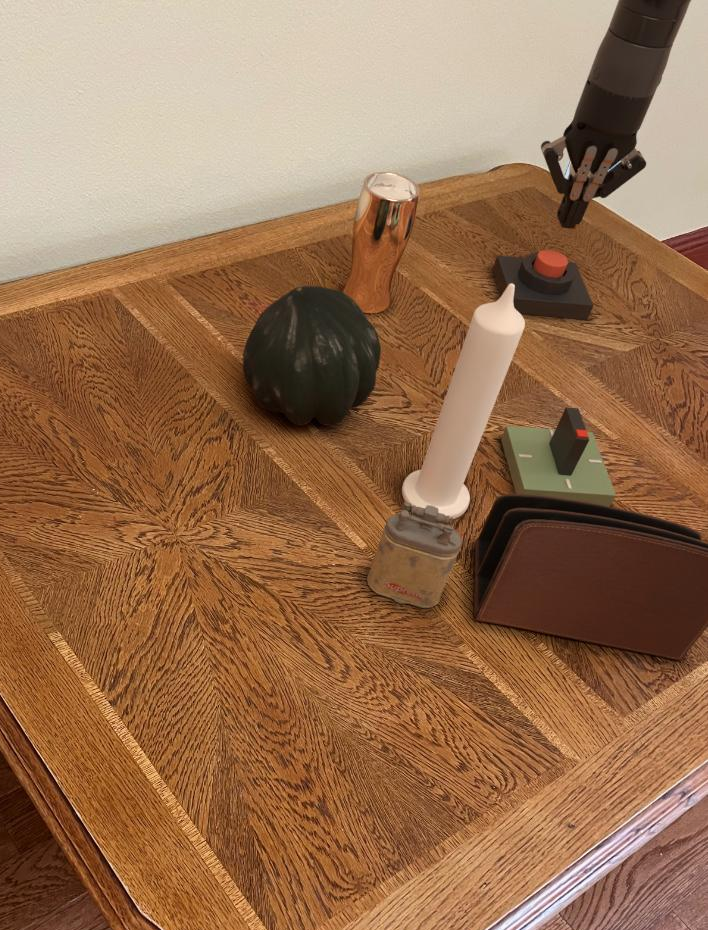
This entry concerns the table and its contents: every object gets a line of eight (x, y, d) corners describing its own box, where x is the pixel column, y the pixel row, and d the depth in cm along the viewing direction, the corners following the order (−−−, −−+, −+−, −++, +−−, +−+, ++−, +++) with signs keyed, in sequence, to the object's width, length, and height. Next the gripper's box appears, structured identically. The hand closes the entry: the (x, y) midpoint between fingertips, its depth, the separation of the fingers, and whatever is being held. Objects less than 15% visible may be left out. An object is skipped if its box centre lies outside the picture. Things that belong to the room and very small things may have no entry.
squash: (419, 356, 104) (354, 235, 97) (372, 437, 95) (297, 310, 88) (319, 389, 113) (253, 281, 106) (267, 465, 105) (192, 353, 98)
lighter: (442, 587, 90) (473, 514, 82) (435, 616, 88) (466, 544, 80) (371, 565, 91) (394, 491, 83) (362, 593, 88) (385, 519, 81)
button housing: (569, 277, 129) (580, 250, 126) (587, 320, 123) (599, 293, 119) (491, 269, 128) (501, 242, 125) (505, 312, 121) (516, 285, 118)
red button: (559, 263, 124) (564, 250, 122) (566, 280, 121) (571, 267, 120) (530, 260, 123) (534, 247, 122) (536, 277, 121) (541, 265, 119)
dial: (548, 442, 102) (566, 405, 98) (561, 443, 103) (579, 406, 98) (558, 474, 99) (577, 436, 95) (571, 475, 99) (590, 438, 95)
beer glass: (390, 320, 117) (420, 206, 106) (335, 309, 117) (359, 194, 106) (394, 290, 122) (423, 177, 110) (341, 280, 122) (364, 166, 110)
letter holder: (681, 663, 87) (761, 564, 77) (472, 622, 88) (522, 517, 77) (668, 583, 94) (740, 481, 83) (473, 545, 94) (519, 438, 83)
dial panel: (585, 445, 106) (593, 430, 104) (608, 508, 100) (617, 494, 98) (500, 439, 105) (506, 424, 103) (518, 502, 99) (524, 487, 97)
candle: (459, 530, 95) (545, 318, 76) (393, 506, 96) (462, 292, 77) (474, 487, 99) (560, 276, 80) (411, 465, 101) (481, 251, 81)
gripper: (670, 71, 107) (608, 214, 121) (558, 58, 106) (509, 204, 119) (690, 100, 102) (624, 246, 116) (574, 87, 101) (520, 236, 114)
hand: (565, 224), depth 117 cm, fingers closed
